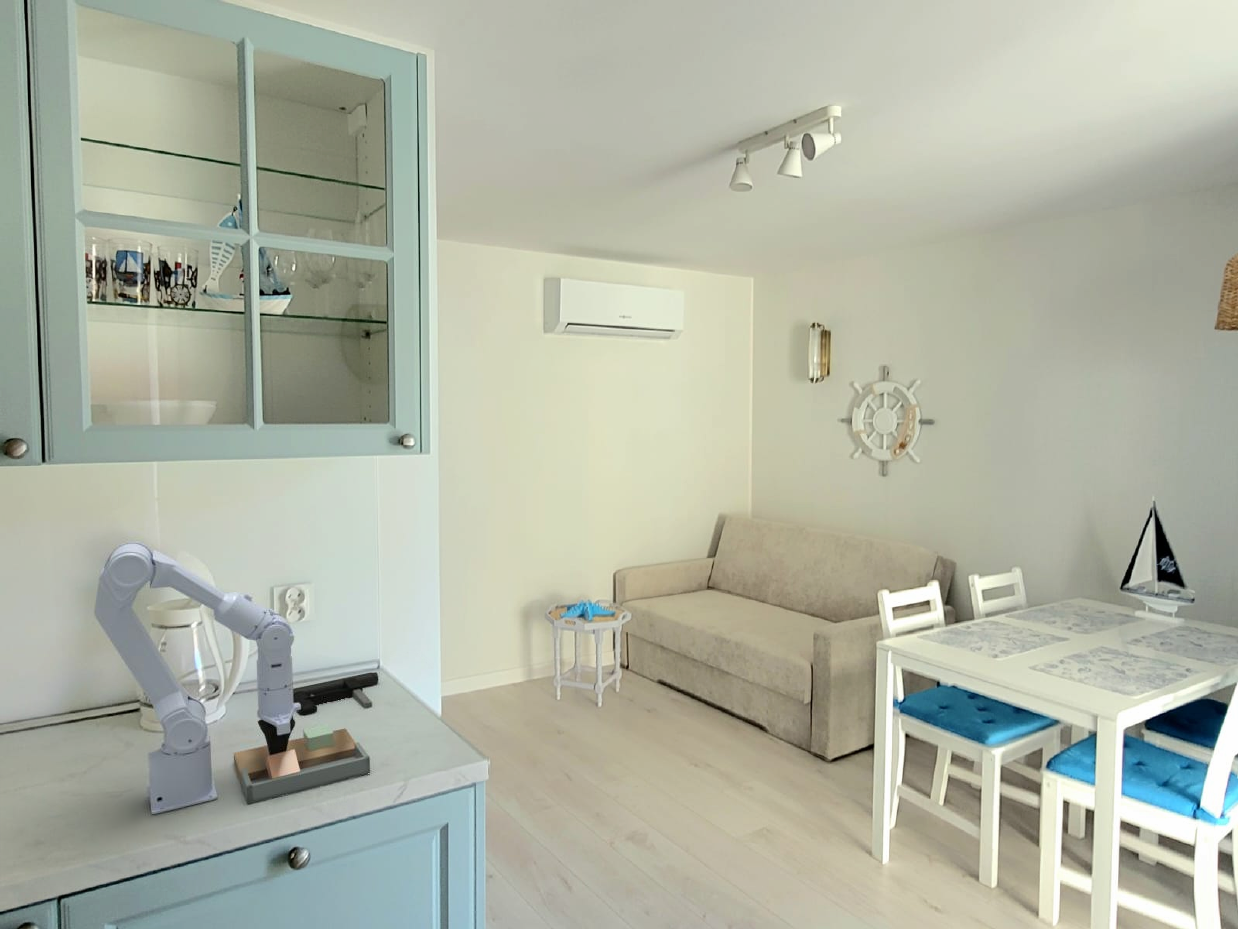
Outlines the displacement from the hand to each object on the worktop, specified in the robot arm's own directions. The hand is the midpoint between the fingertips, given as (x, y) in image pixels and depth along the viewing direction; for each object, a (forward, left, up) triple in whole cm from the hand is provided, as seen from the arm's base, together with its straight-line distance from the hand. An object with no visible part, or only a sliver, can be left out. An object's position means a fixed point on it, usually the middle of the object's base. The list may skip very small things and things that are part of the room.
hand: (277, 759), depth 139 cm
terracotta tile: (0, -2, -1) cm, 3 cm away
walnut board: (+4, +5, -3) cm, 7 cm away
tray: (+4, -4, -3) cm, 6 cm away
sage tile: (+8, +5, -1) cm, 10 cm away
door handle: (+18, +30, -4) cm, 36 cm away
